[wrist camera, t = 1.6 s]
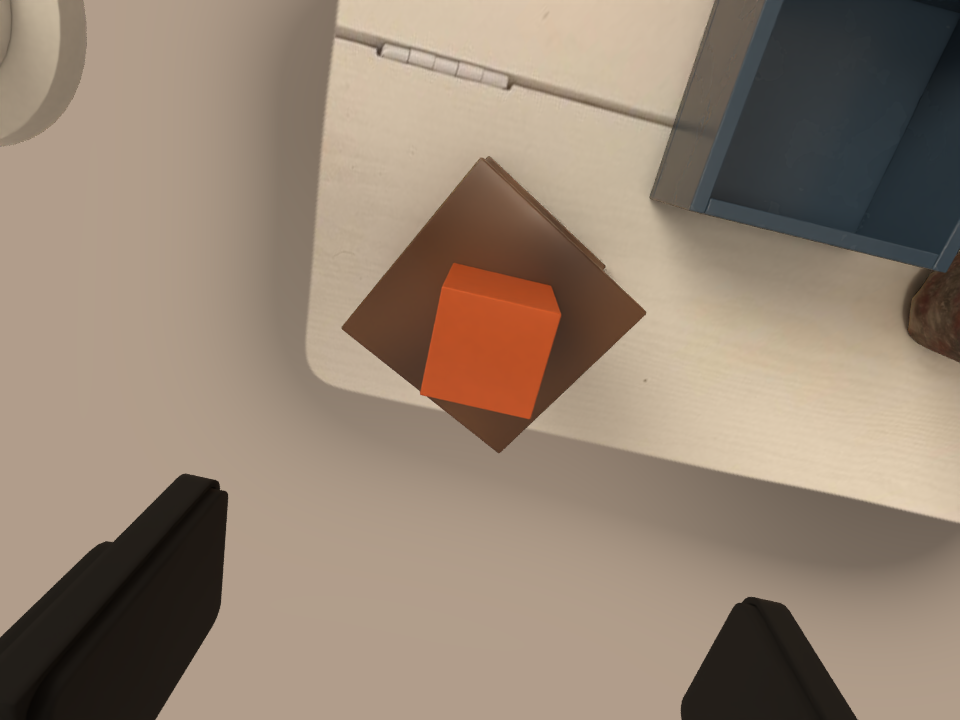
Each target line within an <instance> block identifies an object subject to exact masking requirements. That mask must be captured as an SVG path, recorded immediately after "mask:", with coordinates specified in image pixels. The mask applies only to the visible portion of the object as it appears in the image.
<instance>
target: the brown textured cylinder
mask: <svg viewBox="0 0 960 720" xmlns="http://www.w3.org/2000/svg"><path fill="white" fill-rule="evenodd" d="M909 315H910V319H909V327H908V331H909V334H910V336H911V337H912V338H913V339H914V340H915V341H916V342H917V343H918V344H920V345H922V346H924V347H926V348H928V349H930V350H932V351H935V352H937V353H939V354H942V355H944V356H946V357H948V358H950V359H953V360H955V361H957V362H960V253H958V255H957V256H955V258H954V260H953V262H952V264H951V265H950V267H949V269H948V271H947V272H946V273H942V272H938V271H933V272H932V273H931V274H930V275H929V276H928V278H927V280H926V281H925V283H924V284H923V286H922V287H921V289H920V290H919V291H918V292H917V293H916V294H915V296H914V297H913V298H912V302H911V309H910V313H909Z"/></svg>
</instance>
